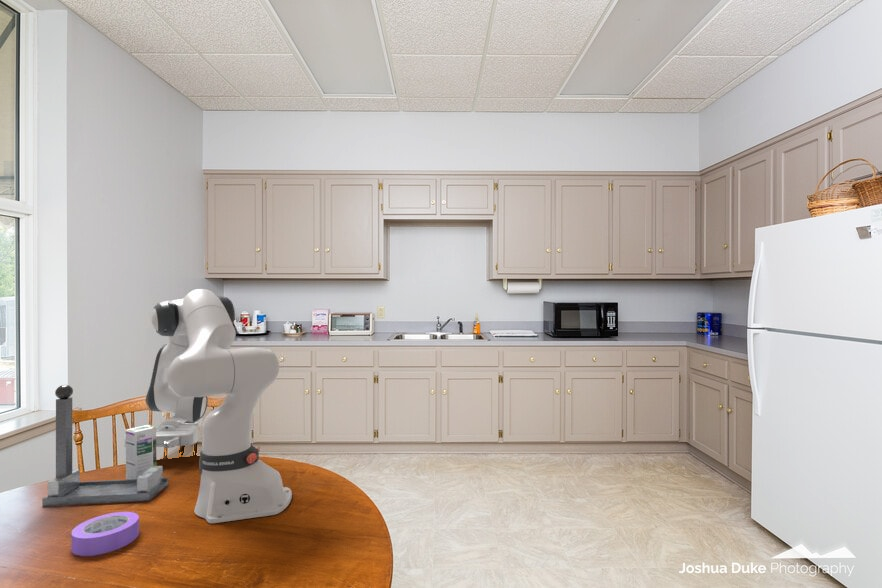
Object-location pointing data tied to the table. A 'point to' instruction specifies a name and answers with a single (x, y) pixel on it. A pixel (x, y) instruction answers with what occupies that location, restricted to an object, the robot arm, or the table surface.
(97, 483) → the tray
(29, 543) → the table surface
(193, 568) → the table surface
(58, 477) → the ball-topped square post
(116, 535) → the masking tape
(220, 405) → the robot arm
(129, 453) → the syrup box
